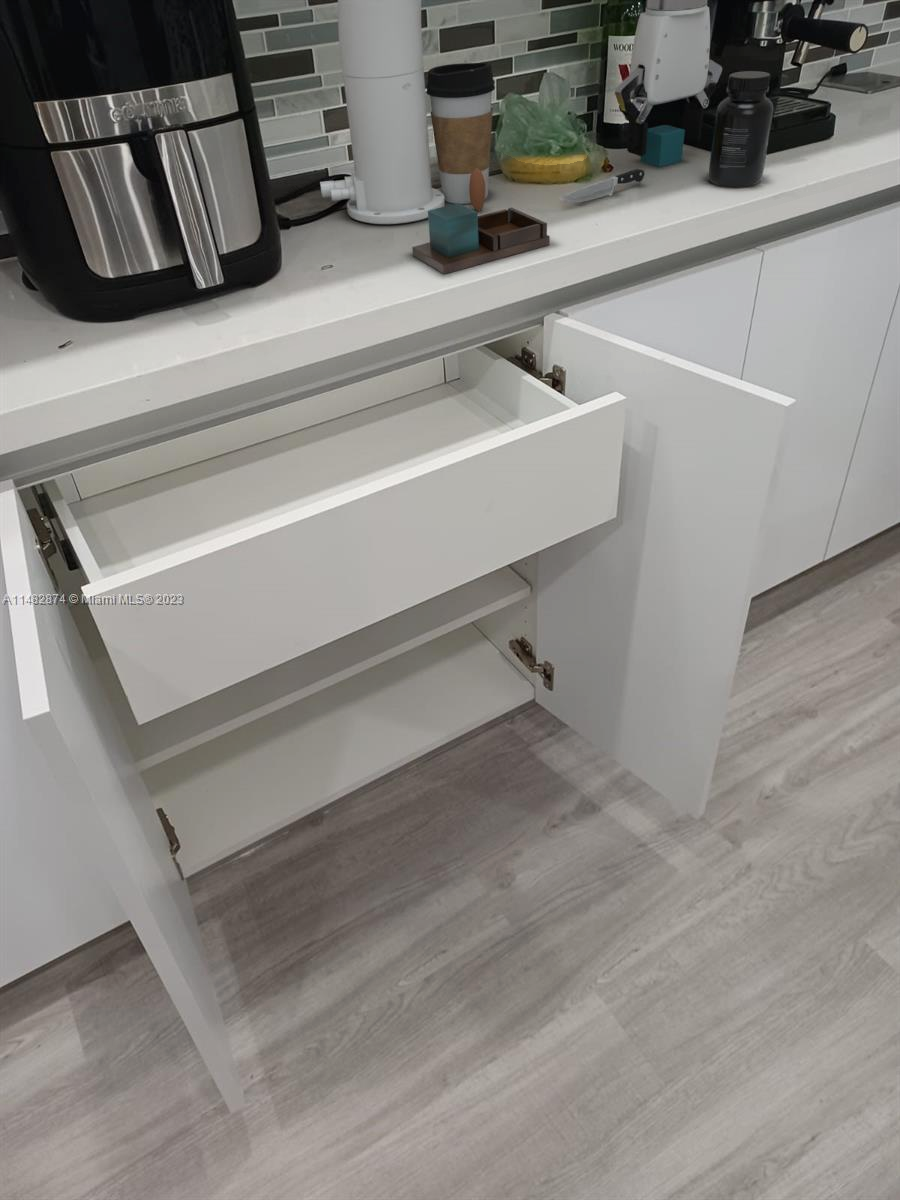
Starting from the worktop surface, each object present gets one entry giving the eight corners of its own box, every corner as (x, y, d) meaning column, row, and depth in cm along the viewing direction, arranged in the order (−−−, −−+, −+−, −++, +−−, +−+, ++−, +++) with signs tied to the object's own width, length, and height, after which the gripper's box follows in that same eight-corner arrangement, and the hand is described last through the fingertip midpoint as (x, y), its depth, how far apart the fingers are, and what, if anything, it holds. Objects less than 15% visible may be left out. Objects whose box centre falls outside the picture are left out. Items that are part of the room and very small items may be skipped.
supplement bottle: (773, 181, 112) (792, 74, 104) (733, 192, 109) (749, 83, 101) (735, 169, 116) (750, 66, 108) (696, 179, 114) (708, 74, 106)
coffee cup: (472, 210, 110) (467, 74, 100) (420, 201, 114) (410, 69, 104) (509, 192, 115) (508, 60, 105) (458, 183, 119) (452, 56, 109)
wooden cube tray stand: (444, 274, 94) (441, 227, 91) (412, 255, 99) (408, 209, 96) (549, 244, 99) (550, 198, 96) (514, 228, 104) (514, 184, 101)
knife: (561, 212, 107) (561, 195, 106) (557, 211, 108) (557, 194, 107) (643, 184, 114) (644, 168, 112) (639, 183, 114) (640, 167, 113)
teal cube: (659, 167, 119) (662, 135, 116) (640, 161, 122) (642, 129, 119) (681, 161, 120) (685, 129, 118) (662, 155, 123) (665, 124, 120)
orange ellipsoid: (468, 213, 109) (466, 170, 106) (472, 208, 111) (470, 165, 107) (484, 213, 109) (482, 170, 105) (487, 208, 110) (486, 165, 107)
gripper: (708, -15, 114) (693, 129, 125) (602, 4, 108) (596, 153, 119) (750, -11, 109) (730, 139, 120) (642, 10, 103) (632, 165, 114)
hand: (664, 146), depth 120 cm, fingers open, 9 cm apart
